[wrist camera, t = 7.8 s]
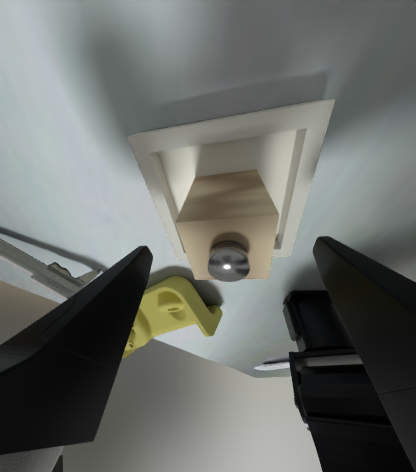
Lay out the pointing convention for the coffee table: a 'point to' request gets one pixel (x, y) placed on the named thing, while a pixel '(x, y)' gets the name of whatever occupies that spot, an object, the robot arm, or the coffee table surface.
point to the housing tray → (237, 161)
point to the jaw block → (228, 227)
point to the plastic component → (171, 312)
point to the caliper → (46, 272)
